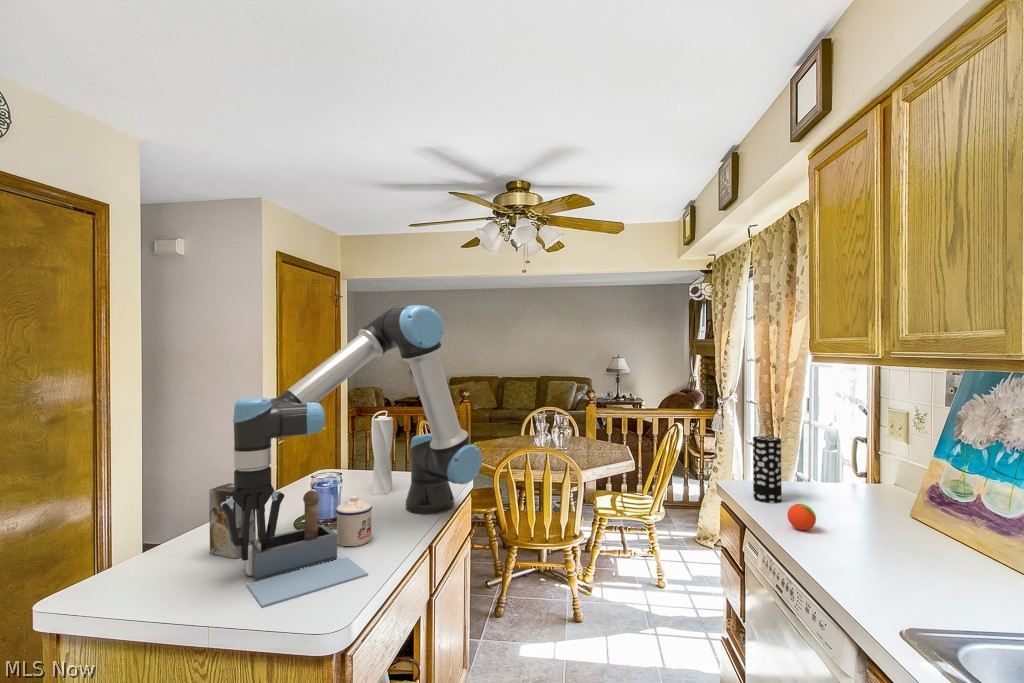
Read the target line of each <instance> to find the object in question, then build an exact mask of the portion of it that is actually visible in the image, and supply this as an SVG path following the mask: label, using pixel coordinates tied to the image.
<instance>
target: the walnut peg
mask: <svg viewBox="0 0 1024 683" xmlns="http://www.w3.org/2000/svg"><path fill="white" fill-rule="evenodd" d="M302 500H303V504H304V529H305V540H307V539H311V538H316V537H318V525H319V500H320V495H319V493H318V492H317V491H316V490H312V489H311V490H308V491H307V492H305V494H304V495H303V498H302Z"/></svg>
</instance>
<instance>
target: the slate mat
mask: <svg viewBox="0 0 1024 683" xmlns="http://www.w3.org/2000/svg"><path fill="white" fill-rule="evenodd" d="M366 575H367V576H369V573H368V572H367V571H366V570H365V569H363V568H362V567H361V566H360V565H358V564H357V563H356V562H354V561H353V560H352V559H351V558H349V556H344V557H341V558H340V557H339V558H337V559H336V560H333V561H329V562H325V563H322V564H318V565H314V566H311V567H307V568H303V569H300V570H296V571H292V572H289V573H285V574H282V575H278V576H274V577H271V578H267V579H263V580H260V581H253V582H249V583H246V587H247V589H248V590H249V592H250V593H251V595H253V597H254V598H256V599H255V600H256V601H257V603H258V602H259V603H258V604H259V605H261V606H260V608H262V609H263V608H265V607H270V606H272V605H276V604H279V603H282V602H285V601H286V602H287V601H288V600H292V599H295V598H298V597H301V596H304V595H308V594H311V592H312V593H314V592H317V591H321V589H322V590H324V589H327V587H328V588H331V587H334V585H335V586H337V584H338V585H341V584H344V583H347V582H346V581H348V582H350V580H351V581H354V580H357V579H360V578H359V577H361V578H363V576H364V577H367V576H366ZM356 578H357V579H356ZM353 579H354V580H353ZM343 582H344V583H343ZM340 583H341V584H340ZM330 586H331V587H330Z"/></svg>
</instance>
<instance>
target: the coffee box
mask: <svg viewBox="0 0 1024 683" xmlns="http://www.w3.org/2000/svg"><path fill="white" fill-rule="evenodd" d="M233 491H234V483H226V484H222V485H220V486H219V485H218V486H216V487H213V488H210V489H209V490H208V498H209V500H208V502H209V504H208V505H209V507H208V508H209V509H208V510H209V555H213V554H215V556H219V555H220V556H221V557H226V558H232V559H238V558H241V546H239V545H237V546H235V545H234V544H233V543H232V542H231V538H230V533H229V529H228V524H227V520H226V515H225V511H224V510H223V509H222V507H221V506H220V503H221V502H223V501H224V502H225V501H227V500H228V499H229V498H231V497H232V493H233ZM233 505H234V508H233V509H232V511H233V514H234V518H235V523H236V527H237V532H238V536H239V538H240V534H241V517H242V513H241V507H240V506H239V505H238V504H237V503H236V502H234V503H233ZM256 533H257V518H256V509H252V510H251V515H250V528H249V541H252V540H257V539H256V538H257V537H256V536H257V535H256Z"/></svg>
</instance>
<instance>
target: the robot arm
mask: <svg viewBox="0 0 1024 683" xmlns="http://www.w3.org/2000/svg"><path fill="white" fill-rule="evenodd" d="M357 332H358V335H357V336H356V337H354V338H353V339H352V340H351V341H349V342H348V343H347V344H345V345H344V346H343V347H342V348H340V349H339V350H338V351H336V352H335V353H334V354H332V355H331V356H329V358H327V359H325V360H324V361H323V362H322V363H320V364H319V365H318V366H316V368H314V369H313V370H311V371H310V372H309V373H307V374H306V375H305V376H304V377H302V378H300V379H299V380H298V381H296V383H294V384H293V385H292V386H290V387H289V388H288V389H286V390H284V392H282V393H281V394H279V395H278V396H277V397H274V398H268V397H248V398H241V399H238V400H237V401H236V402H235V404H234V409H233V420H232V422H233V439H234V440H233V442H234V443H233V445H234V447H233V453H234V454H233V467H234V468H235V470H234V472H233V484H234V491H233V493H232V497H231V498H229V499H228V500H227V501H225V502H224V501H223V502H221V503H220V506H221V507H222V509H223V510H224V511H225V515H226V520H227V524H228V529H229V533H230V538H231V542H232V543H233V544H234V545H235V546H237V545H239V546H241V557H240V558H241V560H242V562H243V561H244V562H245V560H246V568H245V573H246V574H247V576H251V575H252V545H251V544H250V542H249V528H250V515H251V510H252V509H255V519H256V533H257V539H258V540H257V539H256V541H254V545H255V546H256V547H257V548H258V549H259V550H260V551H262V550H266V542H267V539H269V538H272V537H274V535H275V534H276V530H277V524H278V518H279V513H280V507H281V503H282V502H283V500H284V498H285V494H284V493H283V492H282V491H276V490H275V489H274V487H273V486H272V467H271V466H270V465H271V464H272V440H273V439H279V438H287V437H295V436H296V437H297V436H306V435H307V436H309V435H313V434H318V433H320V432H321V431H322V430H323V429H324V427H325V425H326V424H325V423H326V421H325V420H326V413H325V410H324V407H323V406H322V404H321V403H319V402H320V401H321V400H323V399H324V398H325V397H326V396H327V395H329V394H330V393H331V392H332V391H333V390H335V389H337V387H339V386H340V385H341V384H343V382H345V381H346V380H347V379H349V378H350V377H351V376H352V375H354V374H355V373H356V372H358V371H359V370H360V369H361V368H363V367H364V366H365V365H366V364H367V363H369V362H370V361H371V360H373V358H375V357H382V355H384V354H386V353H387V352H388V351H390V350H393V349H396V348H398V352H399V355H400V357H401V360H404V361H405V362H407V363H408V364H409V367H410V370H411V374H412V376H413V381H414V383H415V386H416V389H417V392H418V395H419V398H420V401H421V404H422V408H423V410H424V411H423V412H424V415H425V418H426V421H427V424H428V427H429V430H430V433H425V434H424V433H423V434H417V435H415V436H413V437H412V438H411V442H410V465H411V466H410V471H411V472H410V481H411V482H410V486H409V489H408V492H407V496H406V499H405V509H406V510H407V511H408V512H410V513H413V514H419V515H420V514H422V515H431V514H440V513H443V512H447V511H449V510H452V509H453V508H454V507H455V498H454V494H453V492H452V488H451V486H450V483H452V484H456V485H457V484H459V485H466V484H468V483H471V482H472V481H473V480H475V478H476V477H477V476H478V475H479V473H480V470H481V468H482V464H483V455H482V452H481V450H480V449H479V448H478V447H477V446H476V445H474V444H472V443H471V440H470V437H469V432H468V431H467V430H465V429H463V428H461V427H462V426H461V425H460V421H459V419H458V415H457V411H456V409H455V408H456V407H455V405H454V402H453V398H452V395H451V391H450V388H449V386H448V382H447V379H446V374H445V372H444V368H443V366H442V362H441V359H440V355H439V352H440V351H441V349H442V344H441V340H442V338H443V334H444V323H443V320H442V318H441V316H440V315H439V313H438V312H437V311H436V310H435V309H434V308H432V307H430V306H427V305H421V304H412V305H405V306H398V307H392V308H389V309H386V310H385V311H383V312H382V313H380V314H379V315H377V316H376V317H374V318H373V319H372V320H371V321H369V323H367V324H366V325H364V326H363V327H362V328H360V330H358V331H357ZM270 498H271V500H272V501H271V504H270V509H269V516H268V521H267V526H266V513H265V512H266V504H267V502H268V501H269V500H270ZM234 502H236V503H237V504H238V505H239V506H240V507H241V513H242V517H241V534H240V538H239V536H238V532H237V527H236V523H235V518H234V514H233V511H232V509H233V508H234V505H233V503H234Z"/></svg>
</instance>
